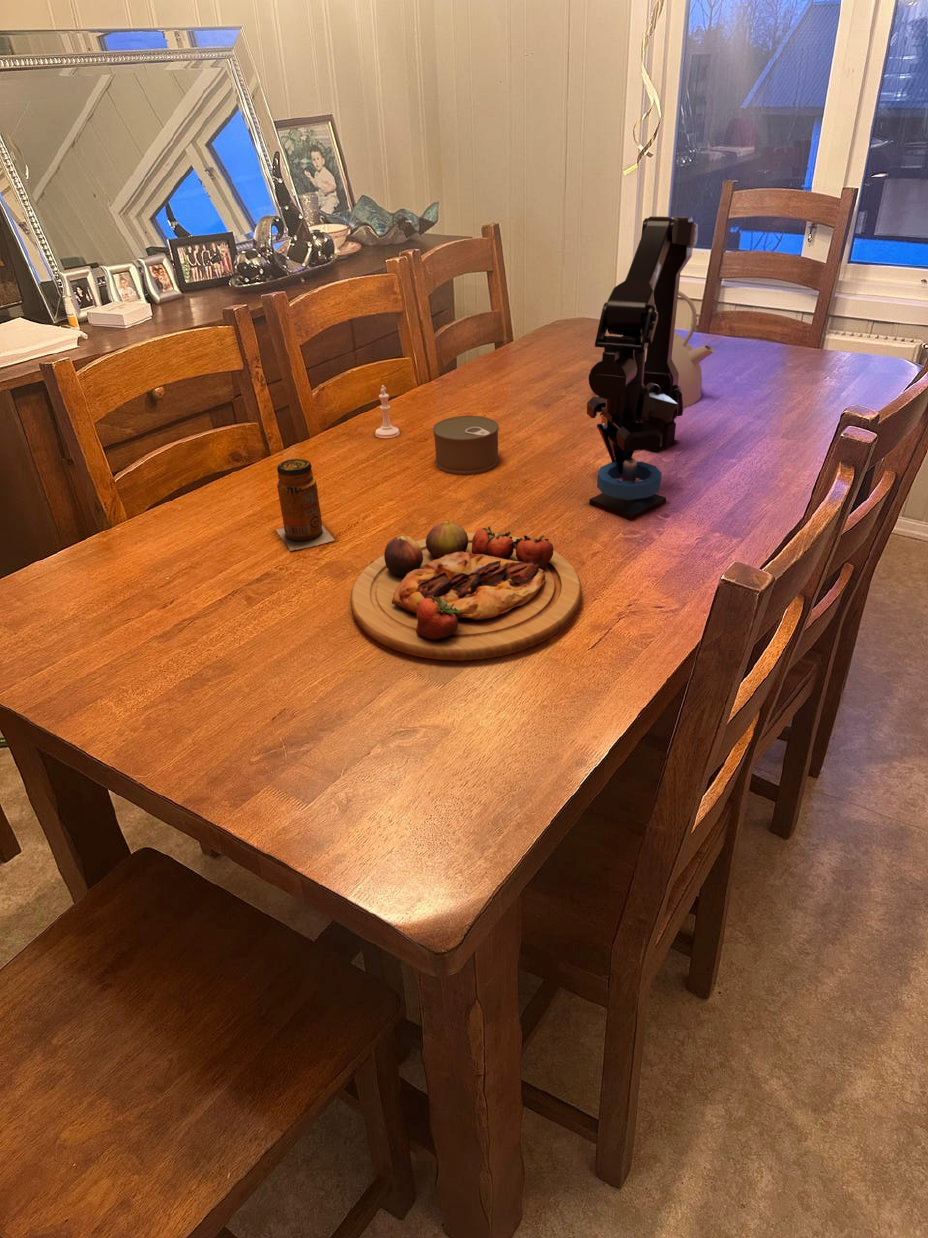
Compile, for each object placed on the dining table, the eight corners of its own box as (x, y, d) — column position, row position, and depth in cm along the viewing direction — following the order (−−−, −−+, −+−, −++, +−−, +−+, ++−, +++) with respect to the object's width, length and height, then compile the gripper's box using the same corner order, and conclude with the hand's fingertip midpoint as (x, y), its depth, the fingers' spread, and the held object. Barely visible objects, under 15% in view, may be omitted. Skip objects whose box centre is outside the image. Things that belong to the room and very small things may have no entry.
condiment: (318, 520, 144) (308, 452, 138) (335, 541, 138) (325, 470, 131) (275, 531, 142) (263, 462, 135) (290, 552, 135) (278, 481, 129)
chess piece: (371, 436, 176) (366, 388, 170) (382, 428, 179) (377, 380, 174) (393, 439, 174) (388, 390, 168) (403, 430, 178) (399, 382, 172)
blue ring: (585, 487, 144) (585, 473, 142) (624, 469, 149) (625, 455, 148) (633, 504, 137) (634, 490, 136) (672, 485, 143) (673, 471, 141)
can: (467, 445, 170) (465, 410, 166) (512, 460, 162) (512, 424, 158) (422, 463, 163) (419, 428, 159) (467, 480, 155) (465, 444, 152)
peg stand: (589, 504, 145) (590, 458, 141) (623, 487, 150) (626, 443, 146) (631, 520, 139) (635, 473, 135) (666, 503, 144) (670, 457, 140)
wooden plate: (509, 694, 103) (508, 636, 98) (303, 624, 118) (294, 571, 113) (618, 574, 125) (621, 522, 121) (434, 528, 140) (431, 480, 136)
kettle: (725, 386, 192) (739, 279, 180) (689, 418, 176) (701, 303, 164) (620, 372, 204) (626, 270, 192) (577, 401, 188) (581, 292, 176)
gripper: (698, 391, 131) (688, 486, 139) (650, 357, 146) (644, 445, 155) (628, 399, 129) (622, 495, 138) (587, 364, 145) (584, 452, 153)
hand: (619, 470), depth 146 cm, fingers closed on blue ring, 2 cm apart
